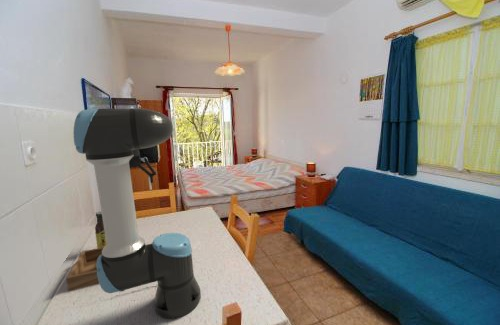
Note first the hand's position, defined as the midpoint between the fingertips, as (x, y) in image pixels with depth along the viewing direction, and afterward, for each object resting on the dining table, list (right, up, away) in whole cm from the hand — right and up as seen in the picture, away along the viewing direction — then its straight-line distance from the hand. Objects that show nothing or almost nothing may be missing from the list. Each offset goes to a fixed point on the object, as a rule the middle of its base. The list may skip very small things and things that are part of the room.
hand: (135, 191), depth 115 cm
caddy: (-4, -31, -16) cm, 36 cm away
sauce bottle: (-14, -29, -1) cm, 33 cm away
